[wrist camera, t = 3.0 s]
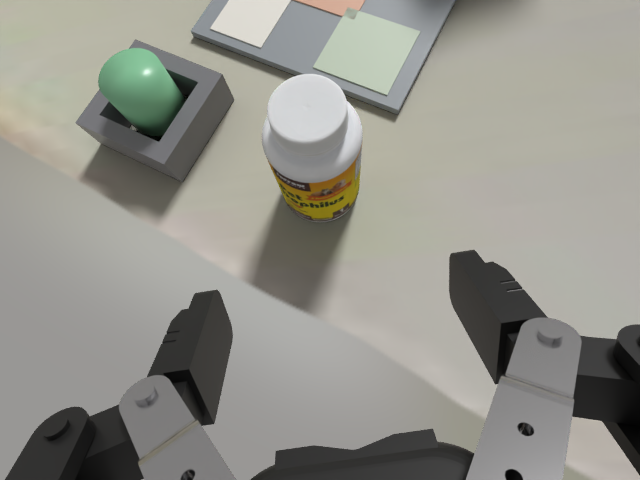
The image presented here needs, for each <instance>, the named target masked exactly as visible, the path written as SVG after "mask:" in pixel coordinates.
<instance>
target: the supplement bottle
mask: <svg viewBox="0 0 640 480" xmlns="http://www.w3.org/2000/svg"><path fill="white" fill-rule="evenodd" d="M262 145H263V149H264V152H265V155H266V157H267V159H268V162H269V164H270V166H271V169H272V171H273V173H274V176H275V178H276V180H277V182H278V185H279V187H280V189H281V191H282V194H283V196H284V198H285V201H286V203H287V204H288V206H289V207H290V209H291V210H292V211H293V212H294V213H295V214H297V215H298V216H300V217H301V218H303V219H306V220H308V221H312V222H328V221H332V220H335V219H337V218H339V217H341V216H342V215H344V214H345V213H346V212H347V211H348V210H349V209H350V208H351V207H352V206H353V204H354V202H355V201H356V198H357V195H358V191H359V182H360V168H361V151H362V125H361V121H360V118H359V116H358V114H357V112H356V111H355V109H354V108H353V107H352V105H351V104H350V103H349V102H348V101H347V100H346V97H345V95H344V93H343V91H342V89H341V88H340V87H339V86H338V85H337V84H336V83H335V82H334V81H332V80H330V79H329V78H327V77H324V76H321V75H317V74H302V75H298V76H294V77H292V78H290V79H288V80H286V81H284V82H283V83H282V84H280V85H279V86H278V87H277V88H276V89H275V91H274V92H273V93H272V95H271V97H270V99H269V102H268V107H267V117H266V119H265V122H264V125H263V129H262Z"/></svg>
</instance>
